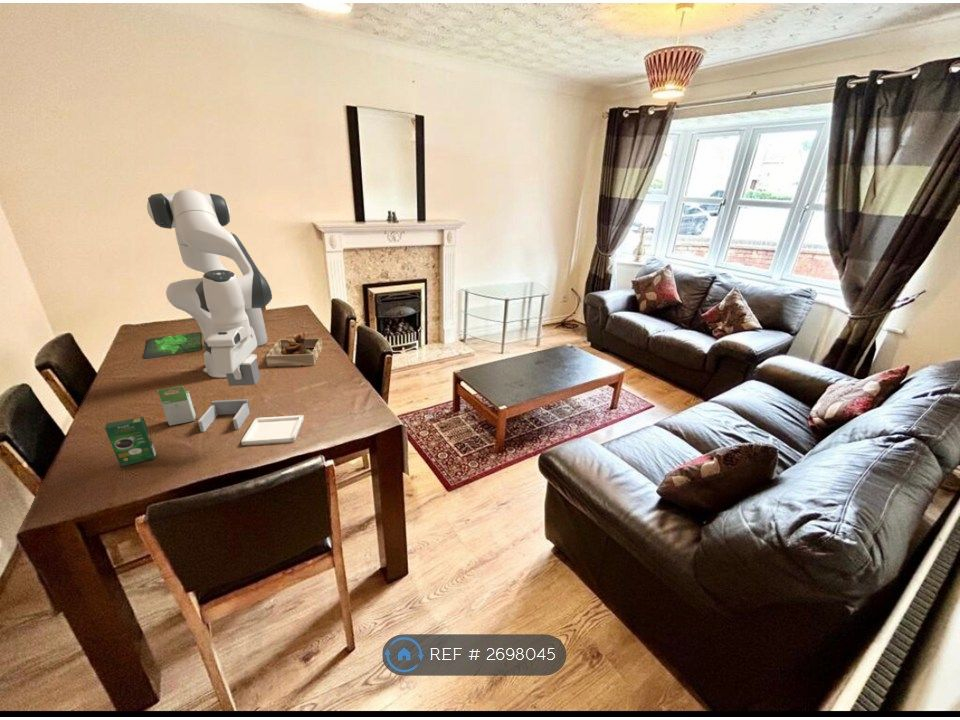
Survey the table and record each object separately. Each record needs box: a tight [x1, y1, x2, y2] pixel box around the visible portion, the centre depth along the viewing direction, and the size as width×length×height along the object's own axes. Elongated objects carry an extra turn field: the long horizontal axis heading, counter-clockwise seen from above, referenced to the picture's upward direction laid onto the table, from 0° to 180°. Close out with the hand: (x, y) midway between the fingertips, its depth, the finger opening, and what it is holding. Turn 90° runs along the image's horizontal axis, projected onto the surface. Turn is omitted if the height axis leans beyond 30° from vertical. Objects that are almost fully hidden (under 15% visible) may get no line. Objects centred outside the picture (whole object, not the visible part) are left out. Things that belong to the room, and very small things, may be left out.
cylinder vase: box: [245, 308, 269, 348], centre depth 183 cm, size 12×12×25 cm
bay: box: [197, 398, 251, 433], centre depth 127 cm, size 11×11×5 cm
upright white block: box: [226, 357, 261, 387], centre depth 113 cm, size 4×7×7 cm, turn 100°
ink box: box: [156, 385, 197, 427], centre depth 125 cm, size 7×4×13 cm, turn 117°
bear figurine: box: [280, 332, 312, 355], centre depth 172 cm, size 14×15×12 cm
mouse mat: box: [142, 331, 203, 360], centre depth 183 cm, size 27×22×1 cm
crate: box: [265, 337, 324, 368], centre depth 175 cm, size 20×19×5 cm
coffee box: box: [104, 416, 157, 467], centre depth 107 cm, size 8×3×13 cm, turn 120°
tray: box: [240, 414, 305, 446], centre depth 124 cm, size 13×15×2 cm
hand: (243, 373), depth 114 cm, fingers closed on upright white block, 4 cm apart
